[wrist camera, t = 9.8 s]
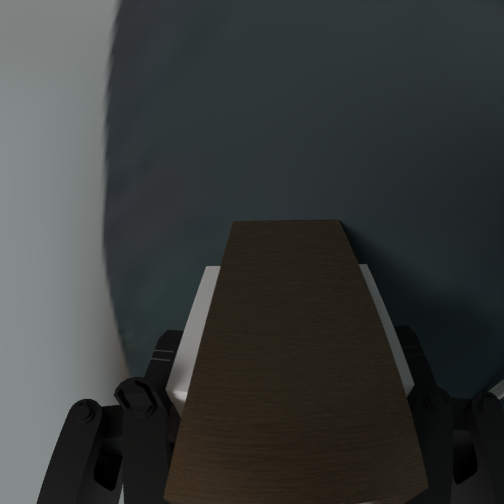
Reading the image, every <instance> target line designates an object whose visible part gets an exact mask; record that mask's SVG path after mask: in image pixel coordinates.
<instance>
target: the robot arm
mask: <svg viewBox="0 0 504 504" xmlns="http://www.w3.org/2000/svg"><path fill="white" fill-rule="evenodd" d="M359 266H360V269H361V271H362V273H363V276H364V278H365V281H366V283H367V286H368V288H369V291H370V293H371V296H372V298H373V301H374V303H375V306H376V308H377V311H378V314H379V316H380V319H381V322H382V324H383V327H384V330H385V333H386V335H387V338H388V341H389V344H390V347H391V350H392V353H393V356H394V359H395V362H396V365H397V368H398V371H399V374H400V377H401V380H402V384H403V387H404V390H405V393H406V397H407V400H408V404H409V407H410V411H411V414H412V418H413V422H414V425H415V429H416V433H417V437H418V441H419V445H420V449H421V454H422V458H423V463H424V467H425V472H426V477H427V482H428V487H429V488H428V489H426V490H425V491H423V492H421V493H420V494H418V495H417V496H415V497H414V498H412V499H410V500H409V501H407V502H405V503H404V504H504V410H503V408H502V405H501V402H500V401H499V399H498V397H497V396H495V395H494V394H493V393H491V392H488V391H481V392H479V393H477V394H476V395H475V397H474V398H473V399H472V400H470V399H458V398H452V397H450V396H449V394H448V393H447V392H446V391H445V390H443V389H442V388H439V387H438V386H437V384H436V382H435V379H434V376H433V374H432V371H431V369H430V366H429V364H428V361H427V359H426V356H425V355H424V352H423V349H422V347H421V346H420V342H419V340H418V338H417V335H416V334H415V333H414V332H413V331H412V330H411V329H410V328H409V327H408V326H397V327H393V325H392V322H391V319H390V317H389V315H388V312H387V310H386V307H385V305H384V302H383V300H382V298H381V295H380V293H379V291H378V288H377V286H376V284H375V281H374V279H373V277H372V275H371V272H370V270H369V268H368V266H367V264H359ZM220 267H221V266H206V269H205V271H204V274H203V277H202V280H201V283H200V286H199V289H198V292H197V294H196V297H195V300H194V303H193V306H192V309H191V312H190V315H189V318H188V321H187V324H186V327H185V330H184V331H177V330H167V331H166V332H165V333H164V334H163V335H162V336H161V337H160V338H159V340H158V343H157V345H156V348H155V351H154V353H153V356H152V360H151V361H150V363H149V366H148V369H147V371H146V374H145V376H144V378H143V377H133V378H129V379H126V380H125V381H123V382H122V383H120V385H119V386H118V387H117V388H116V391H115V394H114V396H115V398H116V399H117V401H118V402H119V403H120V405H114V406H103V407H101V406H100V405H99V404H98V403H97V401H94V400H92V399H83V400H80V401H78V402H76V403H75V404H74V405H73V406H72V407H71V409H70V410H69V413H68V415H67V418H66V420H65V423H64V425H63V428H62V430H61V433H60V436H59V438H58V441H57V443H56V446H55V449H54V451H53V454H52V457H51V460H50V463H49V466H48V469H47V472H46V475H45V478H44V481H43V484H42V487H41V490H40V494H39V497H38V500H37V504H118V503H119V499H120V494H121V490H122V485H123V488H124V489H123V490H124V504H170V503H169V502H167V501H166V500H164V499H163V497H164V492H165V487H166V483H167V478H168V474H169V469H170V465H171V460H172V456H173V452H174V447H175V443H176V439H177V434H178V430H179V426H180V422H181V417H182V413H183V409H184V405H185V401H186V397H187V393H188V389H189V385H190V381H191V377H192V373H193V369H194V365H195V361H196V357H197V353H198V349H199V345H200V341H201V337H202V334H203V330H204V326H205V322H206V318H207V315H208V311H209V307H210V303H211V300H212V296H213V292H214V289H215V285H216V281H217V278H218V274H219V270H220Z"/></svg>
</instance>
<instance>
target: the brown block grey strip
mask: <svg viewBox="0 0 504 504" xmlns="http://www.w3.org/2000/svg"><path fill="white" fill-rule="evenodd" d="M428 488H429V487H428V482H427V477H426V472H425V467H424V463H423V458H422V454H421V449H420V445H419V441H418V437H417V433H416V429H415V425H414V422H413V418H412V414H411V411H410V407H409V404H408V400H407V397H406V393H405V390H404V387H403V384H402V380H401V377H400V374H399V371H398V368H397V365H396V362H395V359H394V356H393V353H392V350H391V347H390V344H389V341H388V338H387V335H386V333H385V330H384V327H383V324H382V322H381V319H380V316H379V314H378V311H377V308H376V306H375V303H374V301H373V298H372V296H371V293H370V291H369V288H368V286H367V283H366V281H365V278H364V276H363V273H362V271H361V269H360V266H359V264H358V262H357V259H356V257H355V255H354V252H353V250H352V248H351V246H350V243H349V241H348V239H347V237H346V234H345V232H344V230H343V228H342V226H341V224H340V221H339V220H280V221H233V224H232V228H231V231H230V235H229V238H228V242H227V245H226V249H225V252H224V256H223V260H222V263H221V267H220V270H219V274H218V278H217V281H216V285H215V289H214V292H213V296H212V300H211V303H210V307H209V311H208V315H207V318H206V322H205V326H204V330H203V334H202V337H201V341H200V345H199V349H198V353H197V357H196V361H195V365H194V369H193V373H192V377H191V381H190V385H189V389H188V393H187V397H186V401H185V405H184V409H183V413H182V417H181V422H180V426H179V430H178V434H177V439H176V443H175V447H174V452H173V456H172V460H171V465H170V469H169V474H168V478H167V483H166V487H165V492H164V497H163V499H164V500H166V501H167V502H169V503H170V504H404V503H405V502H407V501H409V500H410V499H412V498H414V497H415V496H417V495H418V494H420V493H421V492H423V491H425V490H426V489H428Z"/></svg>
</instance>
